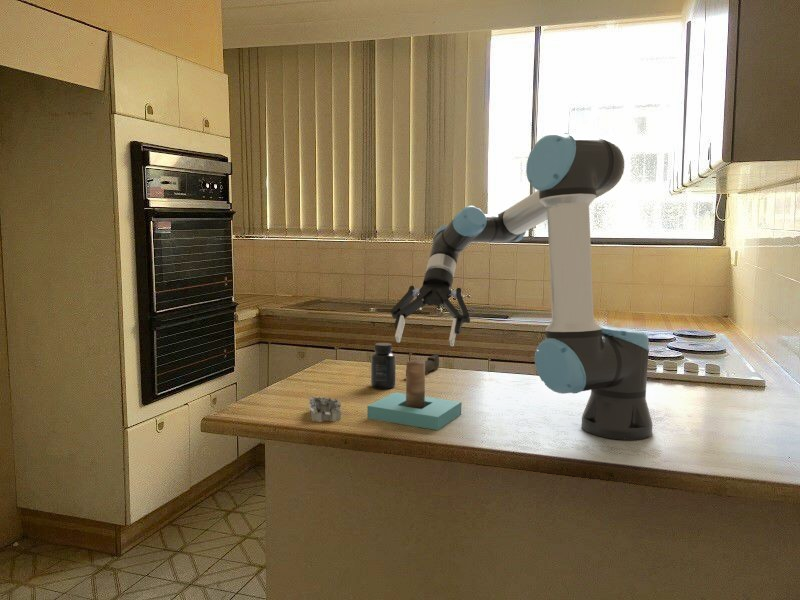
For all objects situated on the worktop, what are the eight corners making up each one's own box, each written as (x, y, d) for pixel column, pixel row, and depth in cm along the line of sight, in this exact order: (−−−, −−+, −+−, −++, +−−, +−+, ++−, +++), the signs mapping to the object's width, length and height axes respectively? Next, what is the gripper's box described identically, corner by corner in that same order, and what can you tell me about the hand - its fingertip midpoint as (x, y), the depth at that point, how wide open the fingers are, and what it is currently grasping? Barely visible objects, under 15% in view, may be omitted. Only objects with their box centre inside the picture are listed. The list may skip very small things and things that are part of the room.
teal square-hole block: (461, 414, 160) (461, 401, 160) (437, 430, 148) (438, 417, 147) (394, 403, 168) (395, 392, 168) (367, 418, 156) (367, 405, 155)
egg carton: (341, 422, 153) (341, 405, 152) (308, 423, 152) (308, 406, 152) (340, 409, 164) (340, 393, 163) (309, 409, 163) (309, 393, 162)
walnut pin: (427, 415, 159) (428, 361, 157) (419, 419, 155) (420, 365, 153) (410, 412, 161) (411, 359, 159) (402, 417, 157) (403, 363, 155)
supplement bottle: (400, 386, 185) (401, 344, 184) (383, 390, 181) (383, 347, 179) (382, 382, 190) (383, 340, 189) (365, 386, 185) (366, 344, 184)
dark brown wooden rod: (417, 381, 193) (417, 365, 192) (405, 379, 195) (405, 364, 194) (446, 369, 209) (446, 354, 208) (435, 367, 211) (435, 353, 210)
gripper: (487, 286, 174) (476, 353, 162) (397, 282, 181) (379, 346, 169) (485, 267, 169) (472, 335, 156) (391, 264, 176) (372, 329, 163)
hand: (423, 341), depth 162 cm, fingers open, 13 cm apart
